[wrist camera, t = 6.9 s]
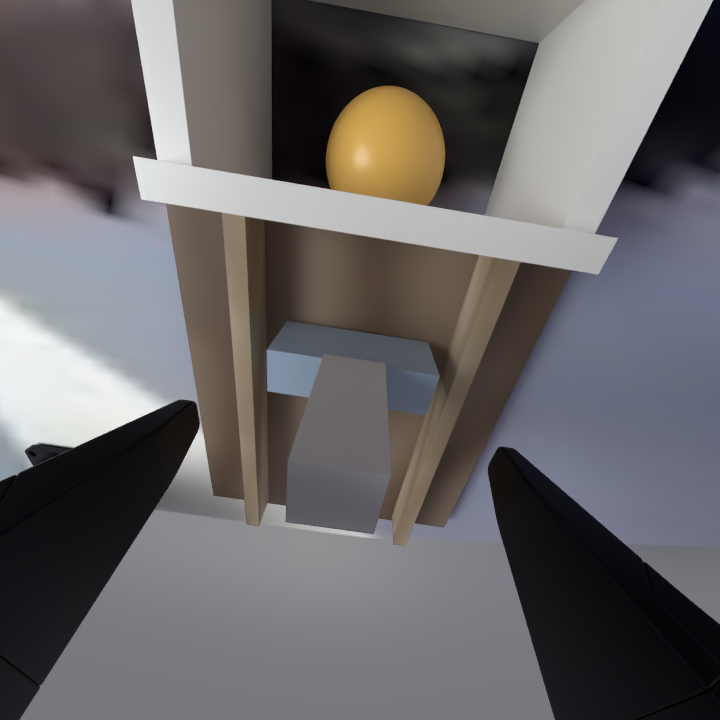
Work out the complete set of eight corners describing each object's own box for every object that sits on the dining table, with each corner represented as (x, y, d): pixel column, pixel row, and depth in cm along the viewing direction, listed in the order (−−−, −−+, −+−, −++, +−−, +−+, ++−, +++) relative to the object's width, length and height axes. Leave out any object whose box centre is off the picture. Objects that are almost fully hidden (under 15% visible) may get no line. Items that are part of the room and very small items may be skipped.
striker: (286, 360, 15) (203, 510, 8) (287, 316, 14) (191, 446, 7) (416, 380, 15) (452, 545, 8) (429, 338, 14) (483, 488, 7)
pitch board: (220, 483, 22) (198, 522, 19) (178, 184, 12) (124, 182, 10) (441, 514, 22) (449, 556, 20) (566, 249, 13) (615, 263, 10)
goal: (253, 197, 12) (141, 199, 7) (245, -50, 9) (1, -504, 3) (495, 238, 13) (598, 274, 7) (574, 13, 9) (913, -300, 3)
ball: (339, 109, 11) (327, 223, 13) (324, 39, 7) (310, 214, 9) (442, 127, 11) (419, 239, 13) (479, 68, 7) (440, 236, 9)
